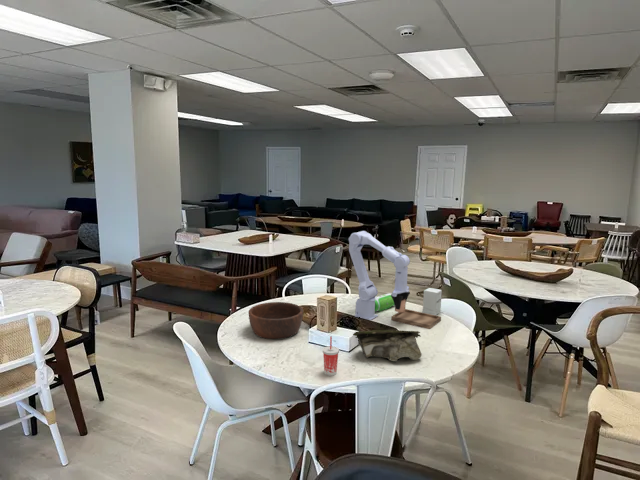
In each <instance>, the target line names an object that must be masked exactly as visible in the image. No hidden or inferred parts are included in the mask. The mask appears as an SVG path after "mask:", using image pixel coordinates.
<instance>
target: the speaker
mask: <svg viewBox="0 0 640 480" xmlns="http://www.w3.org/2000/svg"><path fill="white" fill-rule="evenodd" d="M391 294H392V292H391V293H390V292H389V293H385V294H381V295H377V296H376V297H375V313H376V312H382V311H384V310H388V309H390V308H392V307H394V306H395V305H394V301H393V299H392V297H391Z"/></svg>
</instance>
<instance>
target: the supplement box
mask: <svg viewBox="0 0 640 480" xmlns="http://www.w3.org/2000/svg"><path fill="white" fill-rule="evenodd" d="M442 291H443V290H442V289H438V288H433V287H427V288H426V289H424V290H423V299H422V313H427V314H431V315H436V316H438V315H439V314H440V313H441V309H442V308H441V307H442V293H443V292H442Z"/></svg>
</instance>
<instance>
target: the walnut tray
mask: <svg viewBox="0 0 640 480" xmlns="http://www.w3.org/2000/svg"><path fill="white" fill-rule="evenodd" d="M391 321H393V322H398V323H400V324H401V323H402V324H406V325H409V326H410V325H411V326H414V327H418V328H419V327H420V328H423V329H427V330H430V329H432V328H433V327H435V326H436V325H437V324H438V323H440V322H441V321H442V316H440V315H431V314H427V313H423V311H416V310H413V309H412V310H411V309H406V308H405V312H397V313H395V314H393V315H392V316H391Z"/></svg>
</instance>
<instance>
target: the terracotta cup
mask: <svg viewBox="0 0 640 480" xmlns="http://www.w3.org/2000/svg"><path fill="white" fill-rule="evenodd" d="M405 303H406V304H407V301H406V300H405V299H403V298H402V301H401V306H400V309H395V308H394V312H397V313H398V312H405V309H406V304H405Z"/></svg>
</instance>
